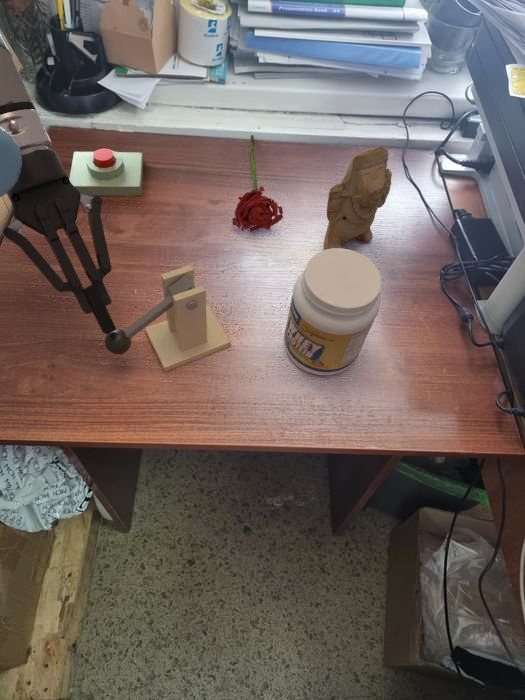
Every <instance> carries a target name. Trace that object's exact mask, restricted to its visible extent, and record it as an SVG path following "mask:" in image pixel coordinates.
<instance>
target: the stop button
mask: <svg viewBox="0 0 525 700" xmlns="http://www.w3.org/2000/svg"><path fill="white" fill-rule="evenodd" d="M111 150H112V149H109V148H105V147H103V148H102V147H101V148H98V149H96V150H95V151H93V152H94V154H93V157H94V161H95V164H96V166H97V167H99V168H108V167H111V166H113V165H114V163H115V160H114V155H113V152H112V151H113V150H112V151H111Z"/></svg>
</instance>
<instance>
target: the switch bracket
mask: <svg viewBox="0 0 525 700" xmlns="http://www.w3.org/2000/svg"><path fill="white" fill-rule="evenodd" d="M183 276H185V277H186V278H188V279H189V280H190V281H191V282H193V284H194V285H195V271H194V268H193V266H192V264H188V265H186V266H183V267H180V268H177V269H175V270H174V269H173V270H171V271H167V272H164V273H162V274H161V275H160V277H161V285H162V292H163V300H164V299H165V298H167V297H168V296H169V295H171V294H172V293H171V292H170V290H169V287H171V286H172V285H173V284H174V283H176V282H177V281H178V280H180V279H181V278H182V277H183ZM173 305H174V306H172V307H171V308H170V309H168V310H167V311H166V312H165V313H166V319H165V320H163V321H160V322H158V323H154V324H152V325H148V326H146V327H145V328H144V331H145V334H146V336H147V338H148V340H149V342H150V344H151V346H152V348H153V350H154V352H155V354H156V357H157V358H158V361H159V363H160V365H161V367H162V369H163V371H164V372H165V373H167V372H168V371H171V370H174V369H176V368H178V367H181V366H184V365H186V364H189V363H192V362H194V361H196V360H198V359H201V358H204V357H206V356H209V355H211V354H215V353H216V352H218V351H221V350H224V349H226V348H229V347H231V342H232V341H231V339H230V338H229V336H228V334H227V333H226V331H225V329H224V328H223V326H222V324H221V322H220V321H219V319H218V317H217V315H216V314H215V312H214V310H213V308H212V307H211V304H207V289H206V288H205V287H204V285H200V286H196V288H194V289H191V290H188V291H185V292H182V293H179V294H176V295H174V296H173Z"/></svg>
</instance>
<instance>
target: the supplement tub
mask: <svg viewBox="0 0 525 700" xmlns="http://www.w3.org/2000/svg"><path fill="white" fill-rule="evenodd" d="M381 288H382V277H381V273H380V272H379V270H378V267H376V265H375V264H374V263H373V262H372V261H371V259H369V258H368V257H366V256H365V255H363V254H362V253H359V252H358V251H354V250H352V249H347V248H343V247H342V248H332V249H327V250H324V249H322V250H321V251H319V252H317V253H315V254H314V255H312V257H310V258H309V260H308V261H307V263H306V265H305V267H304V270H303V271H302V272H301V273H300V275H299V276H298V277H297V279H296V281H295V283H294V286H293V289H292V295H291V300H290V305H289V311H288V313H287V319H286V324H285V329H284V333H283V342H284V343H283V344H284V347H285V350H286V353H287V355H288V357H289V358H290V360H291V361H292V363H293V364H294V365H296V366H297V368H299V369H301V370H303V371H305V372H307V373H310V374H313V375H317V376H318V375H319V376H332V375H333V376H334V375H335V374H336V375H337V374H340V373H342V372H344V371H346V370H348V368H350V367H351V366H352V365H353V364H354V363H355V362H356V361H357V359H358V358H359V355H360V352H361V350H362V348H363V346H364V344H365V341H366V339H367V336H368V335H369V333H370V330H371V328H372V325H373V324H374V322H375V319H376V317H378V315H379V314H378V313H379V311H380V307H381V294H380V293H381V292H380V291H381Z"/></svg>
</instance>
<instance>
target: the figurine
mask: <svg viewBox="0 0 525 700" xmlns="http://www.w3.org/2000/svg"><path fill="white" fill-rule="evenodd" d="M388 160H389V151H388V149H386V148H385V147H384V146H382V145H379V146H375V147H371V148H366V149H363V150H362V151H360V152H359V153H357V154H356V155H354V157H353V158H352V159H351V160H350V161H351V162H350V163H349V165H348V167H347V169H346V173H345V175H344V176H343V178H342V180H341V181H340V183H337V184H335V185H333V186H332V187H331V188H330V189H329V192H328V198H327V206H326V219H327V221H328V224H327V228H326V232H325V234H324V235H325V236H324V240H323V250H327V249H332V248H342V249H343V245H342V244H344V243H347V242H349V241H351V240H352V239H359V240H361V241H362V242H364V243H369V242H371V241H372V240H373V237H374V236H373V233H372V229H371V226H372V225H373V223H374V221H375V217H376V213H377V211H378V209H379V208H382V207H383V206H384V205H385V204H386V200H387V198H388V195H389V194H390V190H391V185H392V176H393V172H392V171H391V170H390V169H389V168H387V166H388Z"/></svg>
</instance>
